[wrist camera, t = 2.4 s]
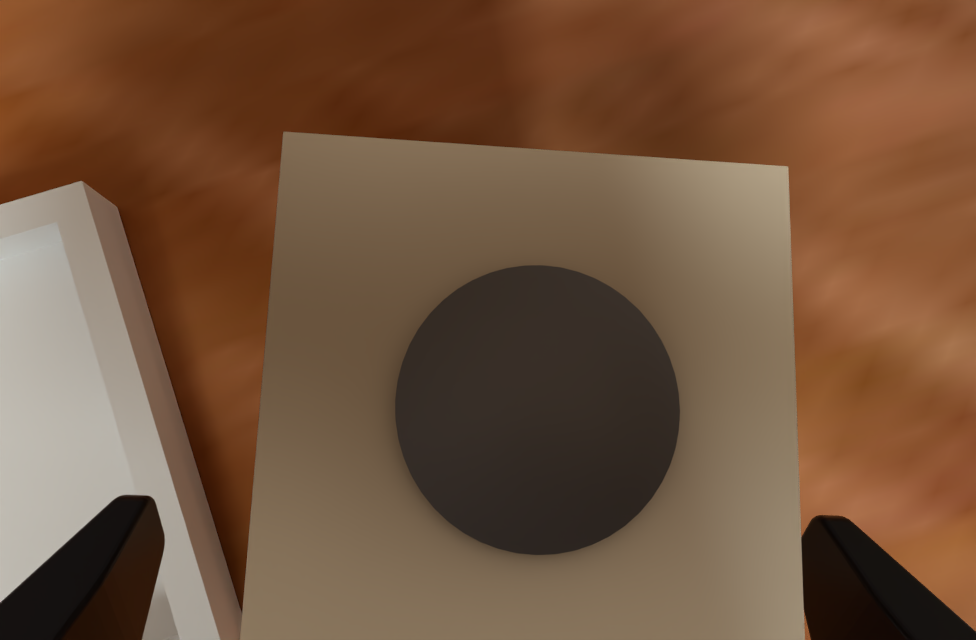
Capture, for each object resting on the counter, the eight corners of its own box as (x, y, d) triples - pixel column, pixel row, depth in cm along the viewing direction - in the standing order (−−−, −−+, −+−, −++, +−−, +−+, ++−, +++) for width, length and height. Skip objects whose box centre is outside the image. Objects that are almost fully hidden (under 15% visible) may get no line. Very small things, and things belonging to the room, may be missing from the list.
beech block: (554, 524, 19) (815, 703, 6) (361, 519, 18) (230, 700, 6) (557, 335, 19) (795, 160, 7) (372, 326, 19) (280, 124, 7)
